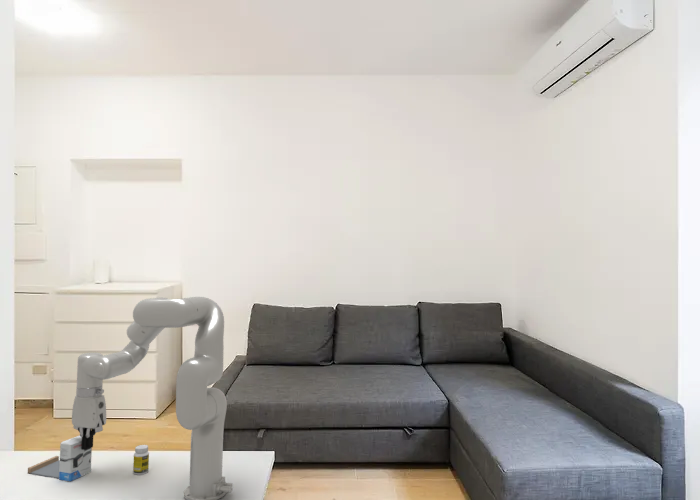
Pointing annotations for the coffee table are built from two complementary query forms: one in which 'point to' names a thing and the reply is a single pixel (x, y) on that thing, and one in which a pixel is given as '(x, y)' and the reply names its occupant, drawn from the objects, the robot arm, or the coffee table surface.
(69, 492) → the coffee table surface
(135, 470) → the supplement bottle
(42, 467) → the mat
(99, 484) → the coffee table surface
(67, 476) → the ink box
